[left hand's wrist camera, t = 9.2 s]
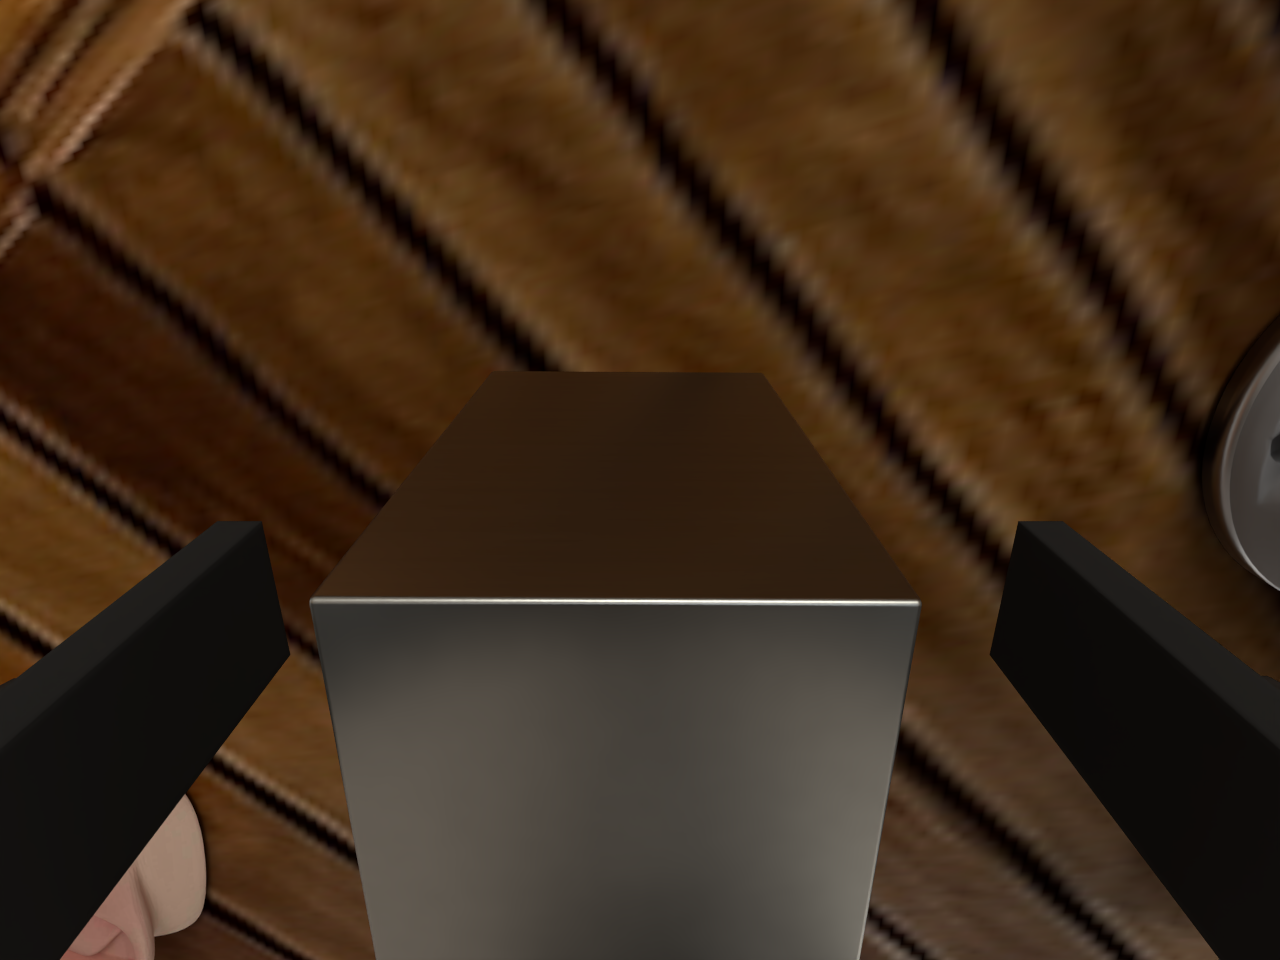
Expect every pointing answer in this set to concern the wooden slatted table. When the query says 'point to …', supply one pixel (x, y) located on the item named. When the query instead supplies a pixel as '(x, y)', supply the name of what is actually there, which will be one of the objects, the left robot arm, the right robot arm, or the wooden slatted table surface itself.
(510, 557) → the bar
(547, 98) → the wooden slatted table surface
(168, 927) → the anatomical model
